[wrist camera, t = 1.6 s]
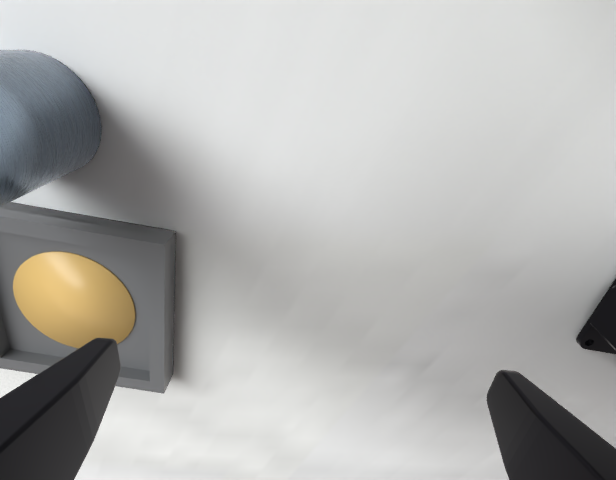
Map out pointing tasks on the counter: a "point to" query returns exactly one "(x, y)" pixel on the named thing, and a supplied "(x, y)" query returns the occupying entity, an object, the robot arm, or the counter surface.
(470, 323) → the counter surface
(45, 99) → the spout can
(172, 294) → the tray
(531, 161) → the counter surface
